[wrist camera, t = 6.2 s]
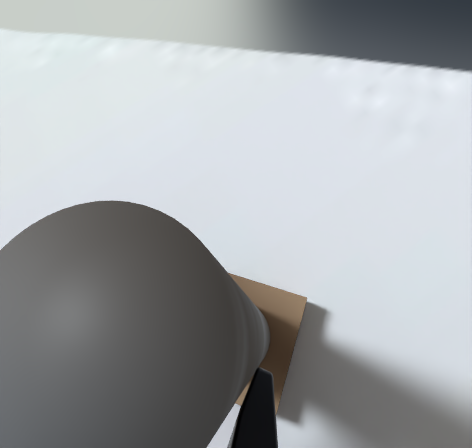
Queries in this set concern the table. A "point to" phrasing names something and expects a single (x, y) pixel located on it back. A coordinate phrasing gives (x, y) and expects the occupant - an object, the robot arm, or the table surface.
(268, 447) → the robot arm
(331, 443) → the table surface
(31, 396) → the grey knob lever
